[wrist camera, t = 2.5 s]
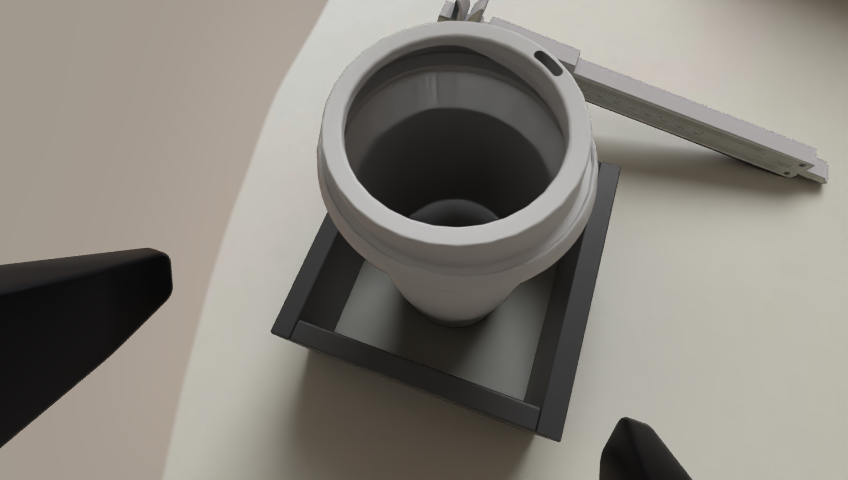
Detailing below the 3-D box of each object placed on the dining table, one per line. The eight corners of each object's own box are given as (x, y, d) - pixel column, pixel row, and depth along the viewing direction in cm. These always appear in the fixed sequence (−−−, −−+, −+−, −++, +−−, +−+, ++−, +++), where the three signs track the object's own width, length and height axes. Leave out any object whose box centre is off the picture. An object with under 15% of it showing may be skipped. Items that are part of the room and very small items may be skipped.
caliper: (432, 91, 25) (425, -7, 19) (438, 77, 25) (433, -23, 19) (820, 187, 21) (961, 100, 15) (821, 169, 21) (959, 78, 15)
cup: (557, 300, 20) (693, 155, 8) (438, 385, 18) (414, 347, 7) (466, 189, 22) (478, -35, 11) (357, 259, 21) (247, 89, 10)
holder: (535, 434, 18) (560, 442, 13) (308, 348, 19) (268, 332, 15) (588, 214, 21) (621, 166, 17) (391, 160, 23) (377, 105, 19)
